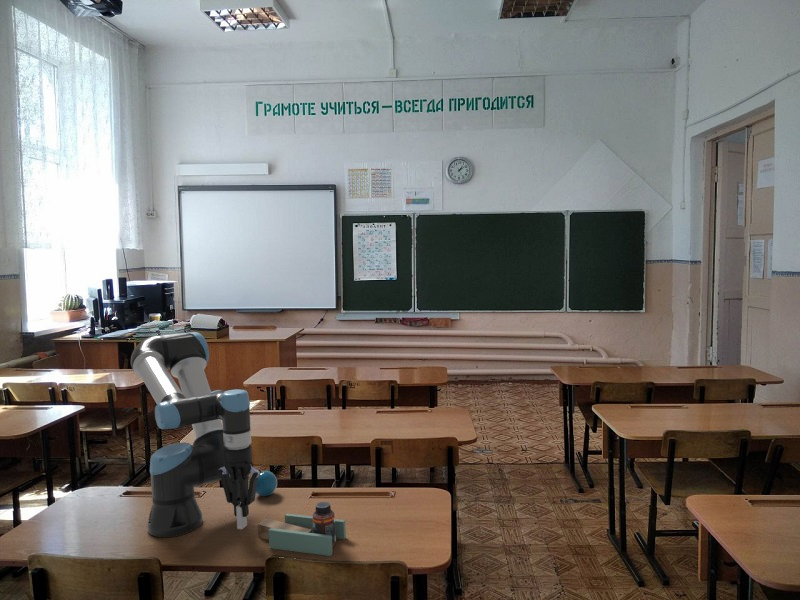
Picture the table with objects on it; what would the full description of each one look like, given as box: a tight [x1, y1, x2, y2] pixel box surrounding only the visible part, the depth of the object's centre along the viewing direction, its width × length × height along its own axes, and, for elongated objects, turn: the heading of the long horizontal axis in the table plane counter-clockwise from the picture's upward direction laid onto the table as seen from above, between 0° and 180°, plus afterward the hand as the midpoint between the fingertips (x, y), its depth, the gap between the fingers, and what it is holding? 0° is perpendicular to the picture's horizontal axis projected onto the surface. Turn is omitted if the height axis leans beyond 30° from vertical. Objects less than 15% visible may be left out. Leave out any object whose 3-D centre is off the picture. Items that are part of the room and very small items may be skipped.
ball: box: [256, 470, 278, 497], centre depth 196 cm, size 8×8×8 cm
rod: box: [257, 518, 312, 541], centre depth 165 cm, size 16×4×4 cm, turn 61°
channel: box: [268, 513, 347, 557], centre depth 163 cm, size 18×10×5 cm, turn 73°
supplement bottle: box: [312, 501, 337, 548], centre depth 161 cm, size 6×6×11 cm
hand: (242, 526), depth 169 cm, fingers closed
